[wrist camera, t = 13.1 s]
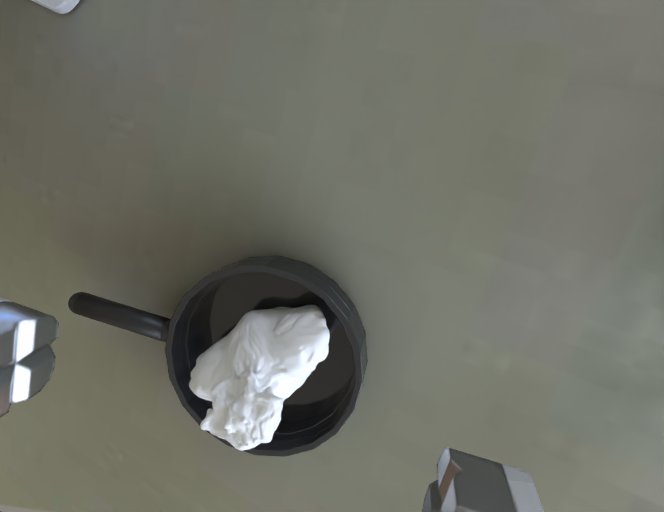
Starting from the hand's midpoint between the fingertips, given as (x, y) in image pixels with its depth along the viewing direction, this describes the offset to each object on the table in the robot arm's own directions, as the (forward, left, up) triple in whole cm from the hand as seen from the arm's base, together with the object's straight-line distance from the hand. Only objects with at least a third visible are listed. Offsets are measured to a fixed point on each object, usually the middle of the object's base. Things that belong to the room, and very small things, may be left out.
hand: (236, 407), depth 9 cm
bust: (-5, -12, -26) cm, 29 cm away
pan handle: (-17, -12, -24) cm, 32 cm away
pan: (-5, -12, -27) cm, 30 cm away
